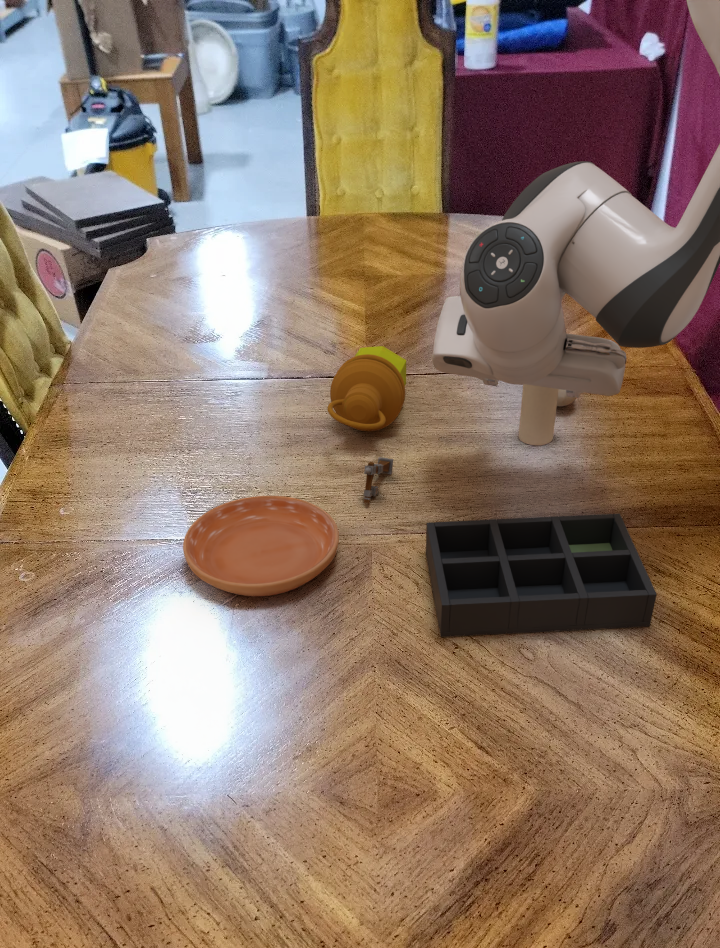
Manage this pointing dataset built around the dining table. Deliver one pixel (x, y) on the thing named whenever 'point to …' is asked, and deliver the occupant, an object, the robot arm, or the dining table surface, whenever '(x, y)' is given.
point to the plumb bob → (369, 389)
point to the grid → (536, 575)
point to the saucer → (261, 545)
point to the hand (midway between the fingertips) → (533, 384)
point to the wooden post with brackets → (382, 467)
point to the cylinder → (537, 414)
